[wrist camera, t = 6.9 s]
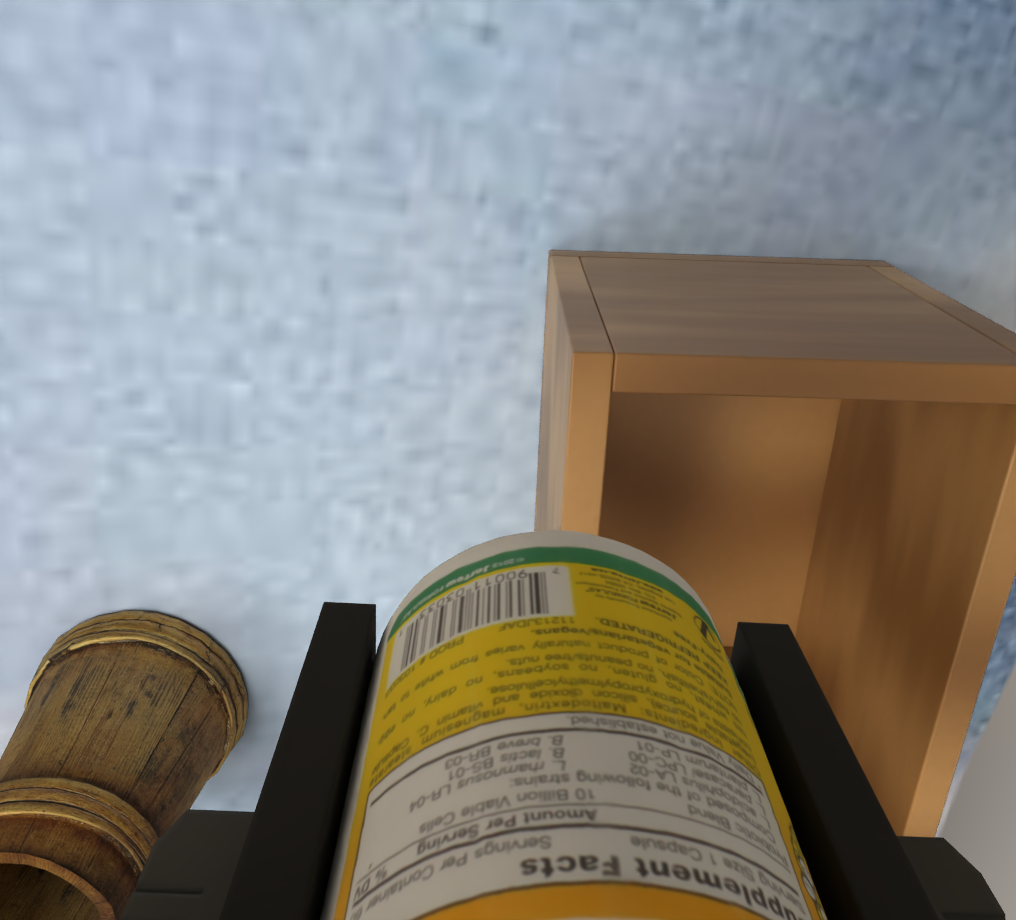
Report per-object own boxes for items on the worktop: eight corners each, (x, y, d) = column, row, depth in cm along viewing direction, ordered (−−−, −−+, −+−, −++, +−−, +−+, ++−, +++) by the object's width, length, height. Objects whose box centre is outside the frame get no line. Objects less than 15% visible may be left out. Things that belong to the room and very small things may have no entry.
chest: (548, 249, 32) (572, 351, 21) (884, 260, 32) (1080, 367, 21) (528, 646, 39) (537, 877, 28) (804, 652, 39) (921, 885, 28)
